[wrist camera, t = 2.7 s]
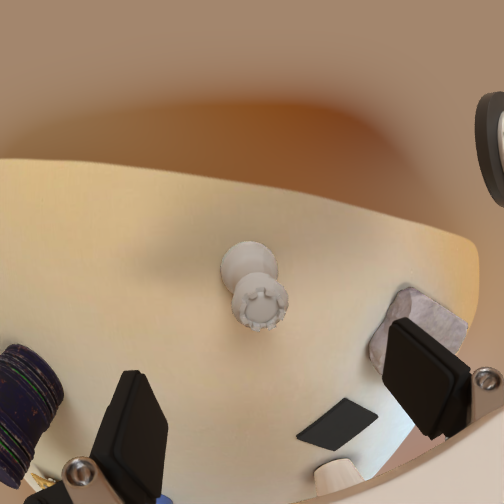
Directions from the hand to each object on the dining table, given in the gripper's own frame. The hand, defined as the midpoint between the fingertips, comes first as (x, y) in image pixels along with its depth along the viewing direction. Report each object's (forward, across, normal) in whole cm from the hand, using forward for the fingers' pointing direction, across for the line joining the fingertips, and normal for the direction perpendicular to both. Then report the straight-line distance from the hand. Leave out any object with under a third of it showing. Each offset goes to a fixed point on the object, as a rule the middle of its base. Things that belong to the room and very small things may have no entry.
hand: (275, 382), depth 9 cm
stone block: (+14, -17, +11) cm, 25 cm away
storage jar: (+14, +28, +10) cm, 33 cm away
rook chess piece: (+14, -1, 0) cm, 14 cm away
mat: (+14, -9, +23) cm, 28 cm away
